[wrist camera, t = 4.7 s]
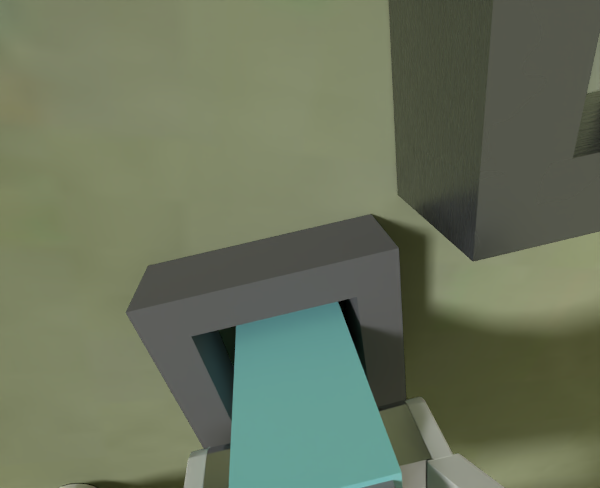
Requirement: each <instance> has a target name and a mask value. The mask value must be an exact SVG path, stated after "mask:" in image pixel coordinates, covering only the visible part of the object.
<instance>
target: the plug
mask: <svg viewBox="0 0 600 488" xmlns="http://www.w3.org/2000/svg"><path fill="white" fill-rule="evenodd" d="M229 488H403V486H402V472H401V469H400V467H399V464H398V461H397V459H396V456H395V453H394V451H393V448H392V445H391V443H390V440H389V437H388V435H387V432H386V429H385V427H384V424H383V421H382V418H381V416H380V413H379V410H378V408H377V405H376V402H375V400H374V397H373V394H372V392H371V389H370V386H369V384H368V381H367V378H366V376H365V373H364V370H363V367H362V365H361V362H360V359H359V357H358V354H357V351H356V349H355V346H354V343H353V341H352V338H351V335H350V333H349V330H348V327H347V324H346V322H345V319H344V316H343V314H342V311H341V308H340V306H339V303H338V302H334V303H329V304H325V305H321V306H317V307H313V308H308V309H304V310H300V311H296V312H292V313H288V314H283V315H279V316H275V317H271V318H267V319H262V320H258V321H254V322H250V323H246V324H242V325H237V326H236V340H235V362H234V383H233V404H232V425H231V446H230V467H229Z"/></svg>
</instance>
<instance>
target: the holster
mask: <svg viewBox="0 0 600 488" xmlns="http://www.w3.org/2000/svg"><path fill="white" fill-rule="evenodd" d="M342 300H345V305H346V311H347V318H348V324H349V331H350V335H351V338H352V341H353V343H354V346H355V349H356V351H357V354H358V357H359V359H360V362H361V365H362V367H363V370H364V373H365V376H366V378H367V381H368V384H369V386H370V389H371V392H372V394H373V397H374V400H375V402H376V405H377V407H379V406H383V405H387V404H391V403H394V402H398V401H402V400H403V401H404V400H406V382H405V362H404V342H403V322H402V302H401V282H400V262H399V248H398V246H397V245H396V244H395V243H394V242H393V240H392V239H391V238H390V237H389V235H388V234H387V233H386V232H385V230H384V229H383V228H382V227H381V226H380V224H379V223H378V222H377V221H376V219H375V218H374V217H373V216H372V214H370V215H366V216H361V217H357V218H353V219H348V220H344V221H340V222H335V223H331V224H327V225H322V226H318V227H314V228H309V229H305V230H301V231H297V232H292V233H288V234H284V235H279V236H275V237H271V238H266V239H262V240H258V241H253V242H249V243H245V244H241V245H236V246H232V247H228V248H223V249H219V250H215V251H210V252H206V253H202V254H197V255H193V256H189V257H184V258H180V259H176V260H172V261H167V262H163V263H159V264H154V265H150V266H148V267H147V269H146V271H145V273H144V275H143V277H142V280H141V282H140V284H139V286H138V288H137V290H136V292H135V294H134V296H133V298H132V300H131V302H130V305H129V307H128V309H127V311H126V314H127V316H128V317H129V319H130V321H131V323H132V324H133V326H134V328H135V330H136V331H137V333H138V335H139V337H140V338H141V340H142V342H143V343H144V345H145V347H146V349H147V350H148V352H149V354H150V356H151V357H152V359H153V361H154V363H155V364H156V366H157V368H158V370H159V371H160V373H161V375H162V377H163V378H164V380H165V382H166V384H167V385H168V387H169V389H170V390H171V392H172V394H173V396H174V397H175V399H176V401H177V403H178V404H179V406H180V408H181V410H182V411H183V413H184V415H185V417H186V418H187V420H188V422H189V424H190V425H191V427H192V429H193V430H194V432H195V434H196V436H197V437H198V439H199V441H200V443H201V444H202V446H203V448H204V449H205V448H209V447H215V446H219V445H223V444H227V443H231V425H232V404H233V383H234V367H233V365H232V363H231V360H230V358H229V355H228V353H227V351H226V348H225V346H224V343H223V341H222V338H221V336H220V334H219V331H218V330H221V329H225V328H229V327H233V326H237V325H242V324H246V323H250V322H254V321H258V320H262V319H267V318H271V317H275V316H279V315H283V314H288V313H292V312H296V311H300V310H304V309H308V308H313V307H317V306H321V305H325V304H329V303H334V302H338V301H342Z"/></svg>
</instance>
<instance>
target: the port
mask: <svg viewBox="0 0 600 488" xmlns="http://www.w3.org/2000/svg"><path fill="white" fill-rule="evenodd" d="M389 15H390V36H391V57H392V78H393V100H394V121H395V142H396V164H397V185H398V195H399V196H400V197H401V198H402V199H403V200H404V201H405V202H407V203H408V204H409V205H410V206H411V207H412V208H413V209H415V210H416V211H417V212H418V213H419V214H420V215H421V216H422V217H424V218H425V219H426V220H427V221H428V222H429V223H430V224H431V225H433V226H434V227H435V228H436V229H437V230H438V231H439V232H440V233H442V234H443V235H444V236H445V237H446V238H447V239H448V240H449V241H451V242H452V243H453V244H454V245H455V246H456V247H457V248H458V249H460V250H461V251H462V252H463V253H464V254H465V255H466V256H467V257H469V258H470V259H471V260H472V261H477V260H481V259H486V258H490V257H494V256H498V255H502V254H507V253H511V252H515V251H519V250H523V249H528V248H532V247H536V246H540V245H544V244H549V243H553V242H557V241H561V240H565V239H569V238H574V237H578V236H582V235H586V234H590V233H595V232H599V231H600V91H596V92H592V93H588V94H587V89H588V84H589V80H590V75H591V70H592V65H593V61H594V56H595V51H596V47H597V42H598V37H599V33H600V0H389Z"/></svg>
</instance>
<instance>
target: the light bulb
mask: <svg viewBox="0 0 600 488" xmlns="http://www.w3.org/2000/svg"><path fill="white" fill-rule="evenodd" d="M60 488H96V487H94V486H91V485H86V484H69V485H65V486H62V487H60Z"/></svg>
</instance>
